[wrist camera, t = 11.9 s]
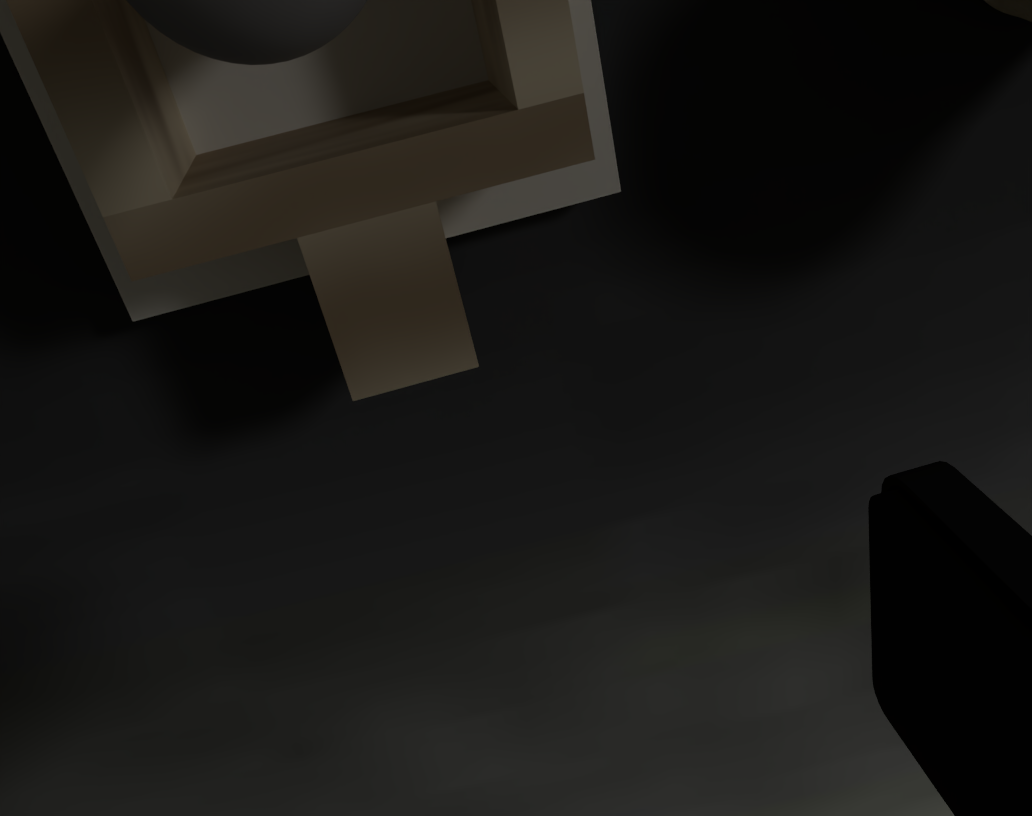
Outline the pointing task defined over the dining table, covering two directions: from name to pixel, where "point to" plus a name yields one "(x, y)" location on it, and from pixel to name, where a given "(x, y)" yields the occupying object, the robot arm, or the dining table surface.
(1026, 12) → the flower pot
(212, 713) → the dining table surface
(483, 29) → the birch loop
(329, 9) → the post stand
